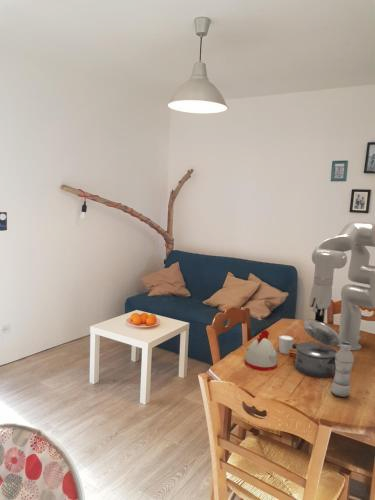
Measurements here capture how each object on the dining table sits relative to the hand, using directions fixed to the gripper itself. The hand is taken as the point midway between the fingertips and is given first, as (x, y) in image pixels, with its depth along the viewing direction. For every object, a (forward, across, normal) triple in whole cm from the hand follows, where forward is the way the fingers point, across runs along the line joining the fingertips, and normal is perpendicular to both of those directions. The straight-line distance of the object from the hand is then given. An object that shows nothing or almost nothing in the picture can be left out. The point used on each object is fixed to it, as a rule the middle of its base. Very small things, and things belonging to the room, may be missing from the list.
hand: (319, 323), depth 162 cm
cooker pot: (+20, +1, +2) cm, 20 cm away
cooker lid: (+5, -2, 0) cm, 5 cm away
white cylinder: (+21, -5, -19) cm, 29 cm away
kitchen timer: (+21, +16, -17) cm, 31 cm away
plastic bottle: (+20, +13, +18) cm, 30 cm away
